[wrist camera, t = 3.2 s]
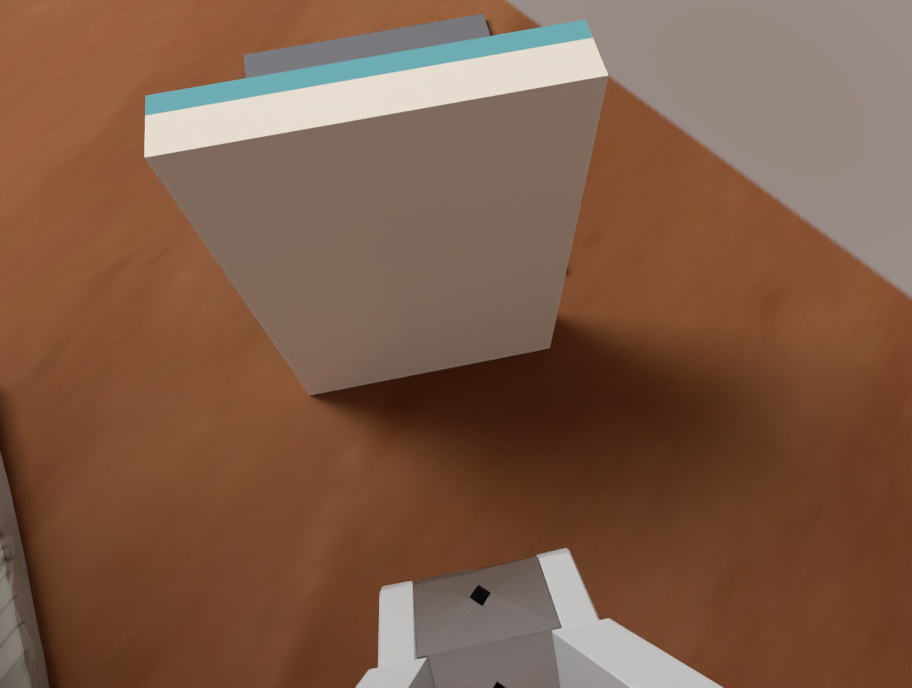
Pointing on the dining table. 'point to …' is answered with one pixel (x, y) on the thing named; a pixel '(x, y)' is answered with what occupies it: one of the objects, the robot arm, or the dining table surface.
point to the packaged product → (16, 605)
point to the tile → (392, 198)
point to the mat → (365, 45)
